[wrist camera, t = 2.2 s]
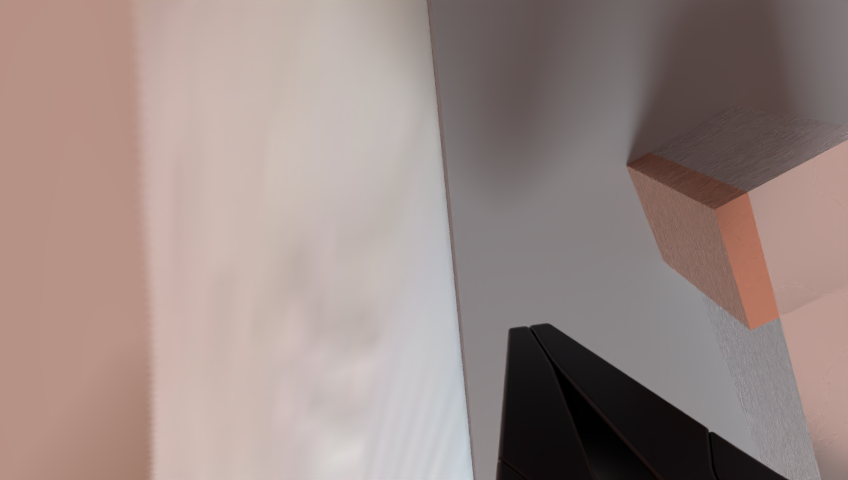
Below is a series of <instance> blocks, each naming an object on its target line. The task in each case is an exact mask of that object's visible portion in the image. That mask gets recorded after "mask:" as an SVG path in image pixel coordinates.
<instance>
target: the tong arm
mask: <svg viewBox="0 0 848 480" xmlns="http://www.w3.org/2000/svg"><path fill="white" fill-rule="evenodd" d="M626 167H627V169H628V172H629V174H630V177H631V179H632V182H633V185H634V187H635V190H636V192H637V195H638V197H639V200H640V202H641V205H642V207H643V210H644V213H645V215H646V218H647V220H648V223H649V225H650V228H651V230H652V233H653V236H654V238H655V241H656V243H657V246H658V248H659V251H660V253H661V256H662V258H663V261H664V262H665V263H666V264H667V265H669V266H670V267H671V268H672V269H674V270H675V271H676V272H677V273H679V274H680V275H681V276H683V277H684V278H685V279H686V280H688V281H689V282H690V283H691V284H693V285H694V286H695V287H696V288H698V289H699V292H700V295H701V298H702V300H703V303H704V306H705V309H706V311H707V314H708V317H709V320H710V323H711V325H712V328H713V331H714V334H715V337H716V339H717V342H718V345H719V348H720V350H721V353H722V356H723V359H724V362H725V364H726V367H727V370H728V373H729V376H730V378H731V381H732V384H733V387H734V389H735V392H736V395H737V398H738V401H739V403H740V406H741V409H742V412H743V415H744V417H745V420H746V423H747V426H748V428H749V431H750V434H751V437H752V440H753V442H754V445H755V448H756V451H757V454H758V456H759V459H760V462H761V463H763V464H764V465H766V466H768V467H769V468H771V469H772V470H774V471H775V472H777V473H779V474H780V475H782V476H784V477H785V478H787V479H789V480H848V126H845V125H839V124H834V123H828V122H822V121H816V120H810V119H804V118H798V117H793V116H787V115H781V114H775V113H769V112H763V111H758V110H752V109H746V108H740V107H734V106H730V107H728V108H726V109H725V110H723V111H721V112H719V113H718V114H716V115H714V116H712V117H710V118H709V119H707V120H705V121H703V122H702V123H700V124H698V125H696V126H695V127H693V128H691V129H689V130H688V131H686V132H684V133H682V134H680V135H679V136H677V137H675V138H673V139H672V140H670V141H668V142H666V143H665V144H663V145H661V146H659V147H657V148H656V149H654V150H652V151H650V152H649V153H647V154H645V155H643V156H642V157H640V158H638V159H636V160H635V161H633V162H631V163H629V164H627V165H626Z"/></svg>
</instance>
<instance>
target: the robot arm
mask: <svg viewBox="0 0 848 480" xmlns="http://www.w3.org/2000/svg"><path fill="white" fill-rule="evenodd" d="M497 460H498V462H497V467H496V479H495V480H789V479H787V478H785V477H784V476H782V475H780V474H779V473H777V472H775V471H774V470H772V469H771V468H769V467H768V466H766V465H764V464H763V463H761V462H760V461H758V460H757V459H755V458H753V457H752V456H750V455H749V454H747V453H746V452H744V451H742V450H741V449H739V448H738V447H736V446H735V445H733V444H732V443H730V442H729V441H727V440H726V439H724V438H722V437H721V436H719V435H718V434H716V433H715V432H709V429H708V428H707V427H706V426H704V425H703V424H701V423H699V422H698V421H696V420H695V419H693V418H692V417H690V416H689V415H687V414H686V413H684V412H683V411H681V410H680V409H678V408H677V407H675V406H674V405H672V404H671V403H669V402H668V401H666V400H665V399H663V398H662V397H660V396H659V395H657V394H656V393H654V392H653V391H651V390H650V389H648V388H647V387H645V386H644V385H642V384H641V383H639V382H637V381H636V380H634V379H633V378H631V377H630V376H628V375H627V374H625V373H624V372H622V371H621V370H619V369H618V368H616V367H615V366H613V365H612V364H610V363H609V362H607V361H606V360H604V359H603V358H601V357H600V356H598V355H597V354H595V353H594V352H592V351H591V350H589V349H588V348H586V347H585V346H583V345H582V344H580V343H578V342H577V341H575V340H574V339H572V338H571V337H569V336H568V335H566V334H565V333H563V332H562V331H560V330H559V329H557V328H556V327H554V326H553V325H551V324H549V323H542V324H535V325H531V326H530V327H527V326H521V327H513V328H510V329H509V330H508V339H507V351H506V363H505V375H504V387H503V398H502V410H501V422H500V434H499V446H498V458H497Z"/></svg>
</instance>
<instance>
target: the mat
mask: <svg viewBox="0 0 848 480" xmlns="http://www.w3.org/2000/svg"><path fill="white" fill-rule="evenodd" d="M427 2H428V12H429V23H430V33H431V43H432V54H433V64H434V74H435V84H436V95H437V105H438V115H439V126H440V136H441V146H442V156H443V167H444V177H445V187H446V198H447V208H448V218H449V228H450V239H451V249H452V259H453V270H454V280H455V290H456V300H457V311H458V321H459V331H460V342H461V352H462V362H463V372H464V383H465V393H466V403H467V414H468V424H469V434H470V444H471V455H472V465H473V475H474V480H495V479H496V467H497V462H498V460H497V458H498V446H499V434H500V422H501V410H502V398H503V387H504V375H505V363H506V351H507V339H508V330H509V329H510V328H513V327H521V326H527V327H530V326H531V325H535V324H542V323H549V324H551V325H553V326H554V327H556V328H557V329H559V330H560V331H562V332H563V333H565V334H566V335H568V336H569V337H571V338H572V339H574V340H575V341H577V342H578V343H580V344H582V345H583V346H585V347H586V348H588V349H589V350H591V351H592V352H594V353H595V354H597V355H598V356H600V357H601V358H603V359H604V360H606V361H607V362H609V363H610V364H612V365H613V366H615V367H616V368H618V369H619V370H621V371H622V372H624V373H625V374H627V375H628V376H630V377H631V378H633V379H634V380H636V381H637V382H639V383H641V384H642V385H644V386H645V387H647V388H648V389H650V390H651V391H653V392H654V393H656V394H657V395H659V396H660V397H662V398H663V399H665V400H666V401H668V402H669V403H671V404H672V405H674V406H675V407H677V408H678V409H680V410H681V411H683V412H684V413H686V414H687V415H689V416H690V417H692V418H693V419H695V420H696V421H698V422H699V423H701V424H703V425H704V426H706V427H707V428H708V429H709V432H715V433H716V434H718V435H719V436H721V437H722V438H724V439H726V440H727V441H729V442H730V443H732V444H733V445H735V446H736V447H738V448H739V449H741V450H742V451H744V452H746V453H747V454H749V455H750V456H752V457H753V458H755V459H757V460H758V461H760V459H759V456H758V454H757V451H756V448H755V445H754V442H753V440H752V437H751V434H750V431H749V428H748V426H747V423H746V420H745V417H744V415H743V412H742V409H741V406H740V403H739V401H738V398H737V395H736V392H735V389H734V387H733V384H732V381H731V378H730V376H729V373H728V370H727V367H726V364H725V362H724V359H723V356H722V353H721V350H720V348H719V345H718V342H717V339H716V337H715V334H714V331H713V328H712V325H711V323H710V320H709V317H708V314H707V311H706V309H705V306H704V303H703V300H702V298H701V295H700V292H699V289H698V288H696V287H695V286H694V285H693V284H691V283H690V282H689V281H688V280H686V279H685V278H684V277H683V276H681V275H680V274H679V273H677V272H676V271H675V270H674V269H672V268H671V267H670V266H669V265H667V264H666V263H665V262H664V261H663V258H662V256H661V253H660V251H659V248H658V246H657V243H656V241H655V238H654V236H653V233H652V230H651V228H650V225H649V223H648V220H647V218H646V215H645V213H644V210H643V207H642V205H641V202H640V200H639V197H638V195H637V192H636V190H635V187H634V185H633V182H632V179H631V177H630V174H629V172H628V169H627V167H626V165H627V164H629V163H631V162H633V161H635V160H636V159H638V158H640V157H642V156H643V155H645V154H647V153H649V152H650V151H652V150H654V149H656V148H657V147H659V146H661V145H663V144H665V143H666V142H668V141H670V140H672V139H673V138H675V137H677V136H679V135H680V134H682V133H684V132H686V131H688V130H689V129H691V128H693V127H695V126H696V125H698V124H700V123H702V122H703V121H705V120H707V119H709V118H710V117H712V116H714V115H716V114H718V113H719V112H721V111H723V110H725V109H726V108H728V107H730V106H734V107H740V108H746V109H752V110H758V111H763V112H769V113H775V114H781V115H787V116H793V117H798V118H804V119H810V120H816V121H822V122H828V123H834V124H839V125H845V126H848V0H427Z"/></svg>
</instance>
